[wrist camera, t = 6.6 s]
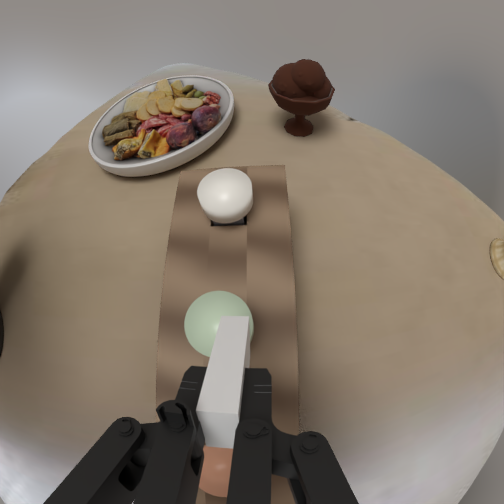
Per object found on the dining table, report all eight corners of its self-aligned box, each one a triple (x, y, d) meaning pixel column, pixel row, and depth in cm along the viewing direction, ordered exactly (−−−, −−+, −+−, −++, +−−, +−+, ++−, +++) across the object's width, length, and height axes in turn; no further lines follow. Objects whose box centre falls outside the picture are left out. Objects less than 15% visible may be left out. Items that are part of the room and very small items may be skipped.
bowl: (75, 168, 48) (58, 144, 41) (155, 88, 59) (148, 64, 52) (180, 206, 41) (164, 173, 34) (260, 102, 52) (259, 71, 45)
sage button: (256, 361, 23) (252, 358, 18) (201, 360, 24) (182, 356, 18) (255, 309, 25) (252, 290, 20) (203, 309, 26) (186, 290, 20)
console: (288, 480, 23) (296, 516, 14) (189, 476, 24) (161, 507, 15) (281, 213, 39) (284, 165, 30) (198, 216, 39) (180, 171, 30)
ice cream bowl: (331, 119, 48) (342, 54, 34) (319, 153, 44) (331, 79, 30) (281, 106, 50) (281, 43, 37) (261, 138, 46) (258, 65, 32)
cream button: (255, 242, 28) (252, 209, 23) (207, 243, 29) (194, 212, 23) (254, 203, 31) (251, 166, 25) (210, 204, 31) (200, 169, 25)
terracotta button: (257, 474, 20) (254, 498, 14) (206, 471, 20) (190, 493, 14) (257, 431, 22) (254, 446, 16) (205, 428, 22) (188, 442, 17)
